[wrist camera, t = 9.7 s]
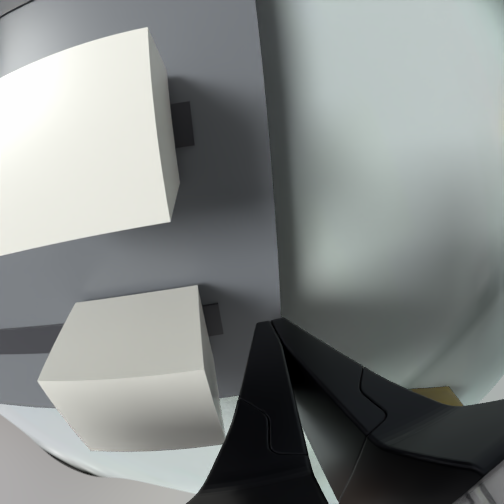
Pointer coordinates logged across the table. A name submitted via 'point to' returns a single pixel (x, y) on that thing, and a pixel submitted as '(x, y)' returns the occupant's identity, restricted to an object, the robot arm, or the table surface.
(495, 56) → the table surface
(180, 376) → the switch tab
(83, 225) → the switch tab
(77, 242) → the switch panel
